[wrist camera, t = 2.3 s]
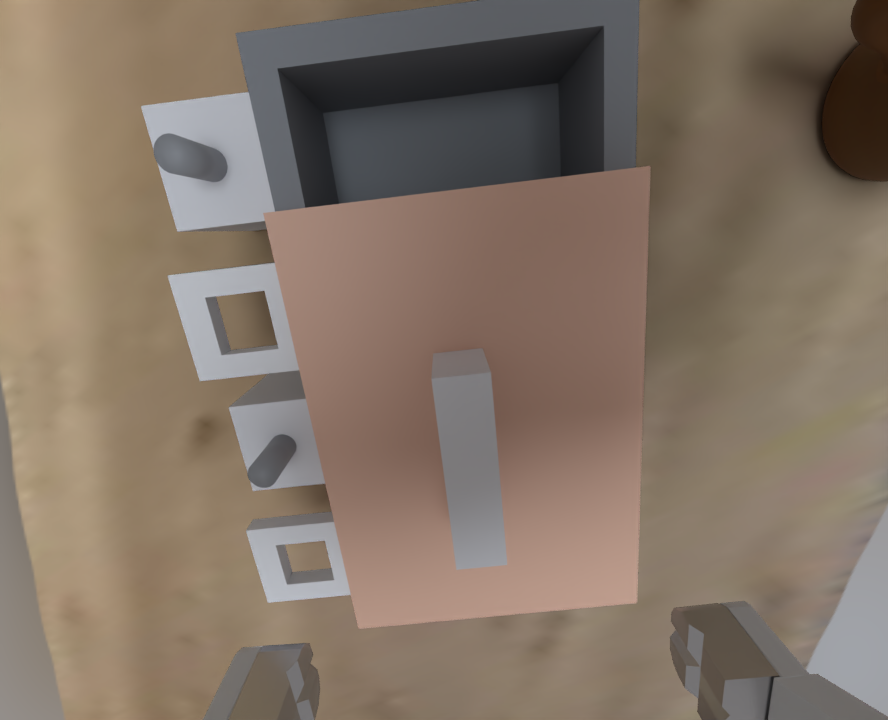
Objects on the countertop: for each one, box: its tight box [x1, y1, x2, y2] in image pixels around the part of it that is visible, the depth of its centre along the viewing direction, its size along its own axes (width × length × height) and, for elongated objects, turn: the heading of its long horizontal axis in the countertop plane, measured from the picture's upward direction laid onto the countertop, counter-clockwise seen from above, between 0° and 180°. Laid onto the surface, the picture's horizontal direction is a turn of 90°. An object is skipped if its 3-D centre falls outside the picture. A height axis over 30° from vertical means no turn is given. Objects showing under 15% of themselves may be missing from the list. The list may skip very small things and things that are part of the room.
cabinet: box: [141, 0, 639, 491], centre depth 20 cm, size 20×18×9 cm
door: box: [168, 166, 651, 629], centre depth 17 cm, size 20×18×4 cm
